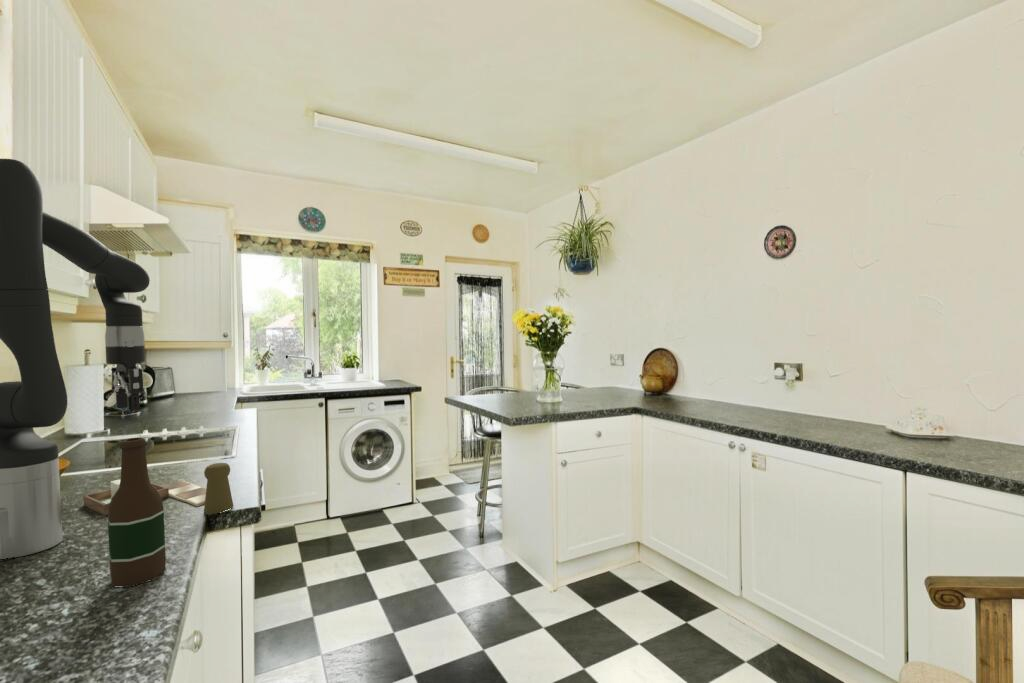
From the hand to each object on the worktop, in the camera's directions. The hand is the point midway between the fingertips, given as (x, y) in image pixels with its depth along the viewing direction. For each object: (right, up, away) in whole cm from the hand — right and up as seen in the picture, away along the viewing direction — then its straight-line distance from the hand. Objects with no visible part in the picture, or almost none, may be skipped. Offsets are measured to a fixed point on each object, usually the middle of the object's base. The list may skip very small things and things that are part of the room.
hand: (128, 409), depth 116 cm
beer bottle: (+32, -24, -36) cm, 53 cm away
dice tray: (-1, -24, +1) cm, 24 cm away
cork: (+26, -23, -6) cm, 36 cm away
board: (+11, -23, +6) cm, 26 cm away
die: (-1, -23, +1) cm, 23 cm away
